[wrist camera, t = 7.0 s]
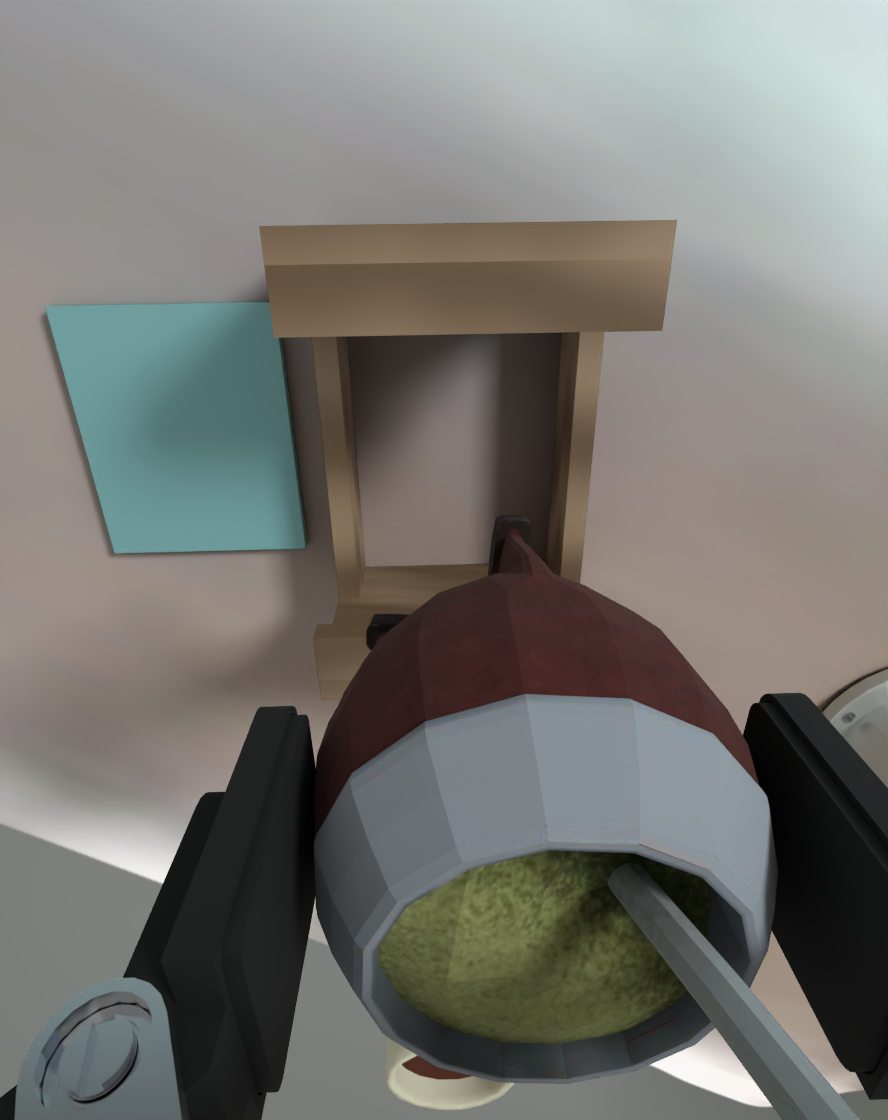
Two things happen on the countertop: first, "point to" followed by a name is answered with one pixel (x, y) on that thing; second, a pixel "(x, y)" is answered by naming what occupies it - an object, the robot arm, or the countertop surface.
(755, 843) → the mate gourd
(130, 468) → the teal mat
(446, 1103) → the character mug
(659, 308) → the walnut box
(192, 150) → the countertop surface
